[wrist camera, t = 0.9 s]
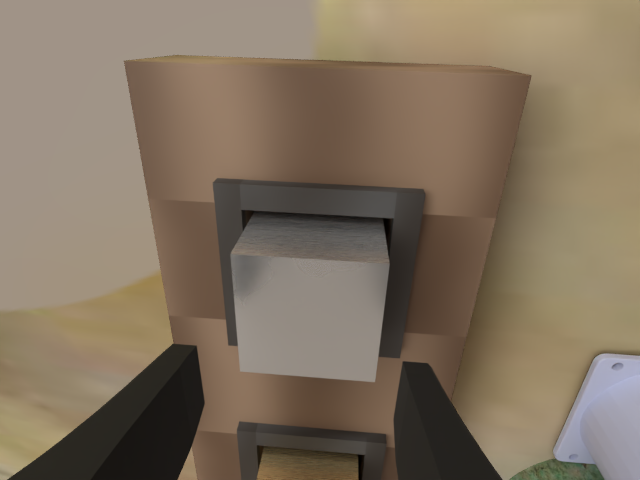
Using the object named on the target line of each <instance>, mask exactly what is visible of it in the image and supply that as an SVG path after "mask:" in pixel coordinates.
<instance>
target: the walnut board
mask: <svg viewBox="0 0 640 480" xmlns="http://www.w3.org/2000/svg"><path fill="white" fill-rule="evenodd" d="M124 64H125V69H126V75H127V81H128V86H129V92H130V98H131V104H132V109H133V114H134V120H135V126H136V132H137V137H138V143H139V149H140V154H141V160H142V166H143V171H144V177H145V183H146V189H147V194H148V200H149V206H150V211H151V217H152V223H153V229H154V234H155V240H156V246H157V251H158V256H159V263H160V268H161V274H162V280H163V285H164V291H165V297H166V302H167V308H168V314H169V320H170V325H171V331H172V337H173V342H174V344H184V345H197V351H198V358H199V365H200V372H201V379H202V386H203V393H204V400H205V405H204V408H203V412H202V415H201V418H200V422H199V425H198V428H197V432H196V435H195V438H194V441H193V444H192V450H193V456H194V462H195V467H196V473H197V479H198V480H257V475H258V471H259V466H260V462H261V457H262V453H263V448H264V446H272V447H283V448H294V449H305V450H316V451H328V452H339V453H350V454H358V480H398V474H397V468H396V459H395V443H394V422H393V418H394V412H395V406H396V399H397V393H398V387H399V381H400V375H401V368H402V362H403V361H408V362H421V363H428V364H429V365H430V366H431V367H432V369H433V371H434V373H435V375H436V376H437V378H438V380H439V382H440V384H441V386H442V387H443V389H444V391H445V393H446V394H447V396H448V398H449V399H450V401H451V399H452V394H453V390H454V386H455V382H456V378H457V374H458V370H459V366H460V362H461V358H462V354H463V350H464V346H465V342H466V338H467V334H468V330H469V326H470V322H471V318H472V314H473V310H474V306H475V302H476V298H477V294H478V290H479V286H480V282H481V277H482V273H483V269H484V265H485V261H486V257H487V253H488V249H489V245H490V241H491V237H492V233H493V229H494V225H495V221H496V217H497V213H498V209H499V205H500V201H501V197H502V193H503V189H504V185H505V181H506V177H507V173H508V169H509V165H510V160H511V156H512V152H513V148H514V144H515V140H516V136H517V132H518V128H519V124H520V120H521V116H522V112H523V108H524V104H525V100H526V96H527V92H528V88H529V84H530V80H531V75H526V74H522V73H517V72H513V71H508V70H504V69H500V68H495V67H491V66H467V65H439V64H411V63H383V62H354V61H326V60H298V59H295V60H294V59H268V58H242V57H212V56H185V55H173V56H164V57H155V58H145V59H136V60H128V61H124ZM255 211H271V212H289V213H307V214H324V215H342V216H359V217H377V218H383V224H384V230H385V237H386V243H387V250H388V256H389V263H390V266H389V274H388V282H387V290H386V298H385V306H384V314H383V322H382V330H381V338H380V346H379V354H378V363H377V371H376V379H375V382H366V381H353V380H340V379H328V378H315V377H303V376H290V375H277V374H265V373H252V372H240V365H239V352H238V340H237V328H236V316H235V304H234V292H233V280H232V268H231V256H230V254H231V252H232V250H233V248H234V247H235V245H236V243H237V241H238V240H239V238H240V236H241V234H242V233H243V231H244V229H245V227H246V226H247V224H248V222H249V220H250V219H251V217H252V215H253V213H254V212H255Z"/></svg>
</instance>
